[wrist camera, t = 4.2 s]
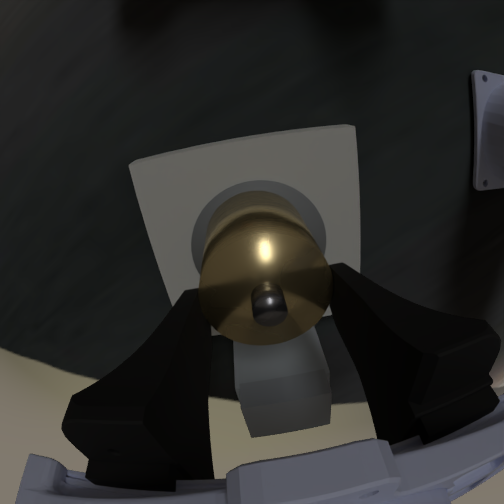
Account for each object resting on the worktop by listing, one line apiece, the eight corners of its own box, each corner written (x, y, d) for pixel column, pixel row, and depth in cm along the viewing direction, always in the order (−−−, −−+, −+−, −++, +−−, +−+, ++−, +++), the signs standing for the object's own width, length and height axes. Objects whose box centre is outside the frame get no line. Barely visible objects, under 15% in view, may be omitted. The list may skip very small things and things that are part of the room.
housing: (293, 178, 15) (331, 228, 9) (312, 266, 17) (346, 342, 12) (192, 207, 15) (173, 271, 10) (223, 290, 17) (223, 374, 12)
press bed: (346, 124, 15) (419, 146, 9) (350, 332, 21) (384, 408, 15) (135, 160, 15) (77, 204, 9) (199, 358, 21) (194, 442, 15)
